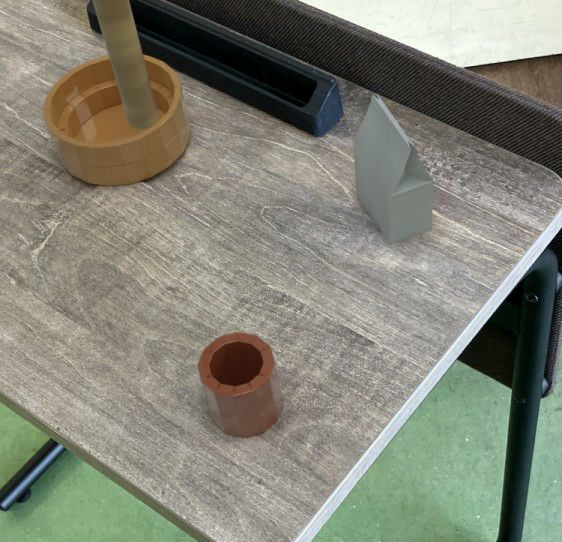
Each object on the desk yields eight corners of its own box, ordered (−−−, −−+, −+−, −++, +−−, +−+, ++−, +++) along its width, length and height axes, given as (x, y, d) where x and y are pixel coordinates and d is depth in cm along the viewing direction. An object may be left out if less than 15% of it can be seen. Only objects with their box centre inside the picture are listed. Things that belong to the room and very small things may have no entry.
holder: (202, 432, 69) (187, 387, 64) (225, 374, 72) (212, 326, 67) (270, 446, 68) (260, 401, 63) (291, 387, 71) (283, 339, 66)
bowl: (38, 179, 86) (20, 137, 82) (91, 90, 92) (77, 47, 88) (163, 198, 83) (151, 155, 79) (209, 105, 89) (199, 61, 85)
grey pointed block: (390, 249, 77) (389, 157, 69) (356, 195, 81) (351, 101, 73) (431, 233, 78) (435, 140, 69) (395, 180, 81) (395, 86, 73)
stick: (123, 127, 61) (50, -116, 48) (135, 106, 62) (67, -138, 49) (151, 131, 61) (86, -113, 48) (163, 110, 62) (101, -135, 49)
